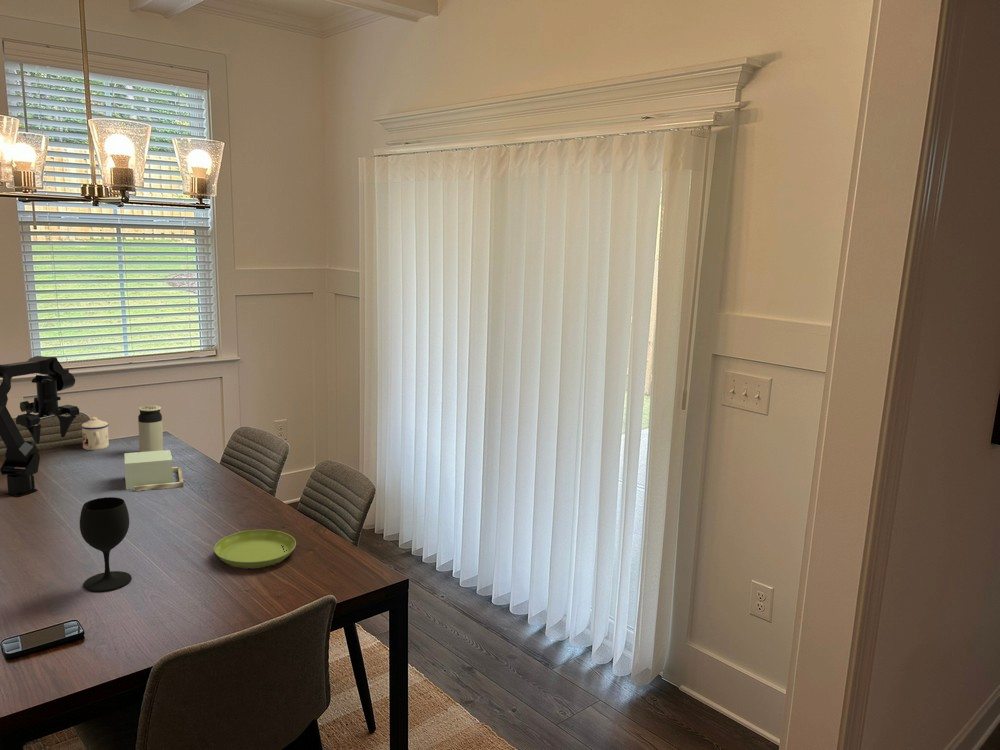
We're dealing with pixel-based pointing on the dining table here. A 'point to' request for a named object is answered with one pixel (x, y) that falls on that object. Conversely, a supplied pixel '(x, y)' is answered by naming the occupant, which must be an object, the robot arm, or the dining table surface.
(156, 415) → the travel mug
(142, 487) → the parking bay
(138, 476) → the sage box
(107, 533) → the wine glass
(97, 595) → the dining table surface
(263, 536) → the saucer
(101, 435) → the teacup with lid
